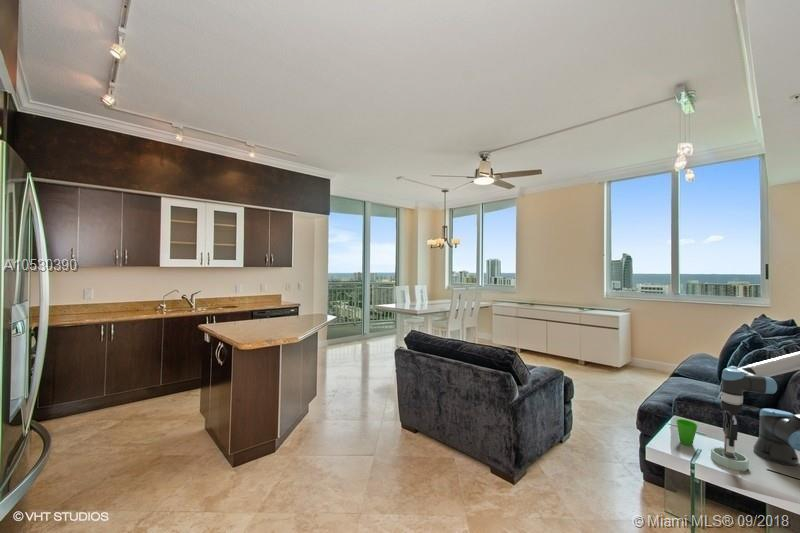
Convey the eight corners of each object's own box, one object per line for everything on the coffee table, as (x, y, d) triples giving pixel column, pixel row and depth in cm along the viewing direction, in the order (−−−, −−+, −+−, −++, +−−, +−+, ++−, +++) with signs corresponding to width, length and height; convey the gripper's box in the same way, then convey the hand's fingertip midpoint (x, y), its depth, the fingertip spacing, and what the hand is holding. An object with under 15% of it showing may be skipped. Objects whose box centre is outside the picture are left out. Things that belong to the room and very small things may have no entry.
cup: (701, 448, 178) (702, 427, 178) (681, 446, 180) (682, 425, 179) (690, 440, 187) (691, 419, 186) (671, 437, 188) (672, 417, 188)
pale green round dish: (742, 460, 168) (742, 452, 168) (752, 473, 157) (752, 464, 157) (708, 452, 174) (708, 444, 174) (715, 464, 163) (715, 456, 163)
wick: (731, 453, 166) (732, 428, 166) (733, 455, 164) (734, 430, 164) (724, 451, 167) (725, 427, 167) (726, 454, 165) (727, 429, 165)
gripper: (716, 395, 174) (714, 441, 174) (726, 405, 160) (723, 456, 161) (736, 398, 170) (734, 445, 171) (748, 409, 157) (745, 461, 157)
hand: (729, 450), depth 166 cm, fingers closed on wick, 2 cm apart
